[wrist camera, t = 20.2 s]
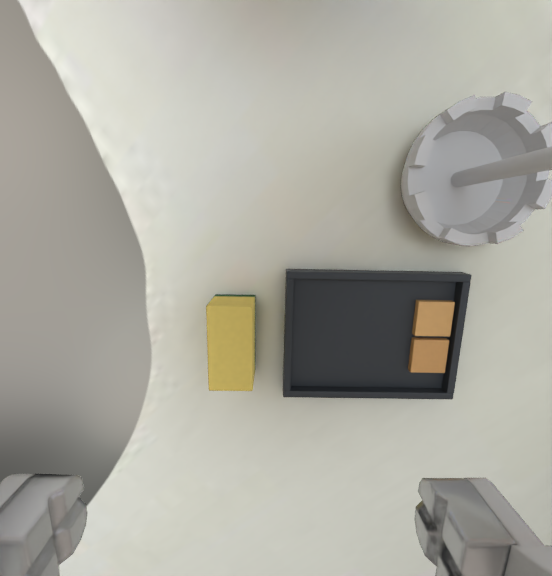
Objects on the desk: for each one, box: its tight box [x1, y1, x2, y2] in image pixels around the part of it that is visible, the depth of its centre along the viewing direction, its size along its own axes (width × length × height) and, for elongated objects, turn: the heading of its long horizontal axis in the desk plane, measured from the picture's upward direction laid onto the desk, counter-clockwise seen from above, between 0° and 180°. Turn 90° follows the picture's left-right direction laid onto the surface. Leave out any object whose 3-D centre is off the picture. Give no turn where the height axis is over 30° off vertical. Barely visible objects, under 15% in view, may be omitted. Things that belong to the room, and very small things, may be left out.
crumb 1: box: [412, 300, 455, 337], centre depth 35 cm, size 4×4×1 cm
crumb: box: [408, 338, 449, 373], centre depth 36 cm, size 4×4×1 cm
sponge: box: [206, 295, 255, 391], centre depth 34 cm, size 9×4×5 cm, turn 179°
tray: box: [283, 269, 471, 399], centre depth 36 cm, size 15×20×2 cm
